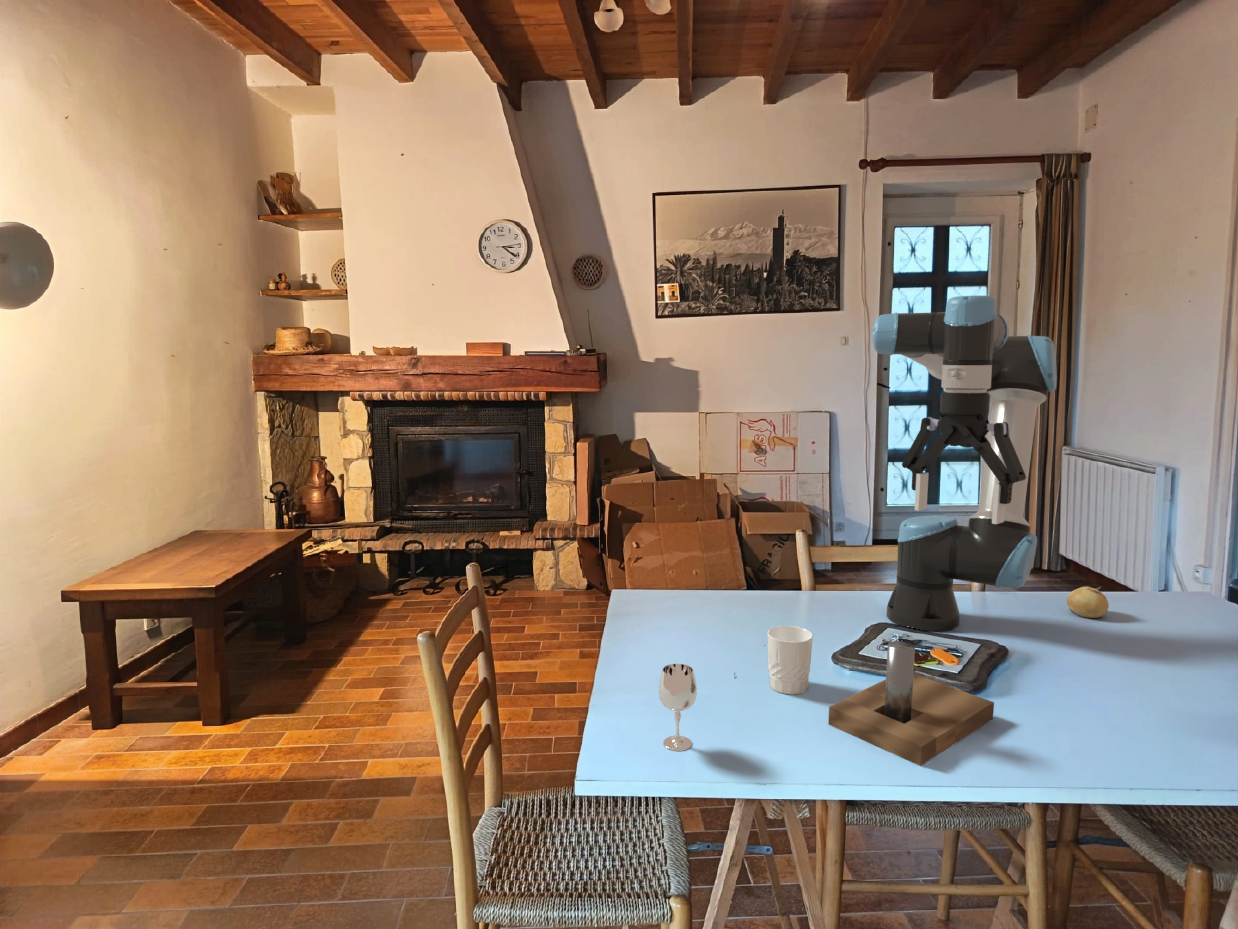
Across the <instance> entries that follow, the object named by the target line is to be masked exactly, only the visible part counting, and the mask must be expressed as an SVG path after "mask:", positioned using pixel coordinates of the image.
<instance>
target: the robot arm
mask: <svg viewBox="0 0 1238 929" xmlns="http://www.w3.org/2000/svg"><path fill="white" fill-rule="evenodd" d="M996 304H997V300H996V299H995V297H994V296H993V295H992V296H991V295H962V296H961V295H960V296H953V297H950V298H949V299H948V300H947V301H946V307H945V311H938V312H936V311H935V312H905V313H904V312H903V313H902V312H901V313H898V312H894V313H886V314H885V313H884V314H880V315H878V316H877V318H876V319H875V320H874V324H873V327H872V344H873V348H874V350H875V351H876V353H877V354H879V355H889V356H893V355H902V356H903V357H906V358H908V359H910V360H912V361H914V362H916V363H918V364H919V365H922V366H923V367H925V369H926V371H927V372H928V373H929V374H930V375H931V376H932V377H934V378H936V379H938V380H940V381H941V384H940V385H941V386H940V387H941V388H942V389H943V390H944V391H942V392H941V393H940V400H939V401H940V402H939V412H940V416H939V419H936V418H935V417H934V416H928V417H923V418H922V419H921V423H920V428H919V431H918V433H917V434H916V437H915V438H914V440H913V442H912V444H911V446H910V448H909V450H908V452H907V454H906V455H905V457H904V459H903V461H902V463H901V467H902V468H904V469H908V470H909V471H911V474H912V475H911V490H912V491H915V494H914V511H918V512H919V511H923V510H927V509H928V493H929V492H928V491H929V490H928V489H929V472H926V471H927V470H926V469H927V468H928V467H929V466H930V465H931V463H933V462H934V461H935V459H937V458H938V456H940V454H941V453H942V452H943V451H944V450H945V449H946V448H947V447H948V446H950V447H958V446H960V447H962V448H966V449H967V448H968V449H969V448H973V450H975V451H976V452H977V453H978V454H979V456H980V457H981V459H982V460H983V461H984V464H983V465H984V466H983V472H982V481H981V487H980V488H981V489H980V494H979V495H980V496H979V503H978V510H977V511H976V512H975V513H974V514H973V515H971V516H969V518H968V519H969V520H968V525H967V526H966V525H958V522H959V521H958V520H957V518H956V517H954V516H949V515H937V514H933V515H919V516H913V517H909V518H907V519H904V520H903V521H902V522H901V523H900V526H899V531H898V532H899V533H898V538H897V559H896V560H897V563H896V564H897V565H896V581H895V586H894V588H893V591H892V593H891V595H890V597H889V599H888V603H887V605H886V617H887V619H889V621H891V622H892V623H894V624H896V625H900V626H903V627H905V626H909V627H913V628H916V629H915V630H919V629H920V630H919V631H929V632H941V631H949V630H953V629H955V628H957V627H958V626H959V625H960V617H961V616H960V615H961V614H960V610H959V606H958V602H957V599H956V597H955V592H954V588H953V587H954V580H958V581H961V582H962V581H964V582H969V583H975V584H982V585H988V586H991V587H992V586H993V587H996V588H1009V589H1019V588H1021V587H1023V586H1024V585H1025V584H1026V582H1027V580H1028V579H1029V576H1030V573H1031V571H1032V568H1033V564H1034V562H1035V561H1034V560H1035V557H1036V553H1037V546H1038V536H1036V534H1033V533H1031V524H1030V523H1029V522H1028V521H1027V520H1026V518H1025V517H1024V514H1025V506H1026V498H1027V491H1028V490H1027V489H1028V483H1029V474H1030V466H1031V458H1032V452H1033V443H1034V442H1033V441H1034V435H1035V434H1034V433H1035V427H1036V417H1037V410H1038V407H1039V406H1040V405H1042V404H1043V403H1045V401H1047V395H1048V392H1049V393H1050V392H1054V391H1056V389H1057V383H1058V382H1057V380H1058V378H1057V377H1058V375H1057V374H1058V373H1057V370H1058V369H1057V358H1056V355H1057V354H1056V348H1055V343H1054V342H1053V340H1052V338H1050V337H1049V336H1045V335H1044V336H1043V335H1042V336H1040V335H1030V334H1027V335H1012V336H1011V335H1009V334H1010V328H1009V324H1008V322H1007V320H1006V319H1005V317H1004V316H1003V315H1001V314H999V313H998V312H997V305H996ZM991 403H992V404H991ZM990 404H991V406H990ZM990 407H991V412H990ZM989 414H990V420H989ZM937 428H938V429H939V431H940V435H939V436H938V437H937V438H936V439H935V440H934V442H933V444H932V445H931V446H930V447H929V448H928V449H927V450H926V451H925V453H924V454H922V453H923V451H924V450H925V448H926V446H927V444H928V442H929V441H930V439H931V437H932V435H933V433H934V431H936V430H937ZM986 435H988V436H987V437H986ZM913 628H912V629H913Z"/></svg>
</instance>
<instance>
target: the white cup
mask: <svg viewBox="0 0 1238 929" xmlns="http://www.w3.org/2000/svg"><path fill="white" fill-rule="evenodd" d="M766 632H767V633H766V634H767V657H768V658H767V660H768V661H767V662H768V664H767V665H768V672H769V674H768V675H769V676H768V678H769V687H770V688H771V689H772V690H773V691H775V692H777V693H780V694H785V695H800V694H803V693H806V691H808V689H809V679H810V671H811V663H812V649H813V638H814V636H813V635H814V634H813V633H812V632H811V631H810V630H808V629H806V628H803V627H800V626H796V625H795V626H793V625H778V626H773V627H771V628H769V629H768V631H766Z"/></svg>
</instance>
